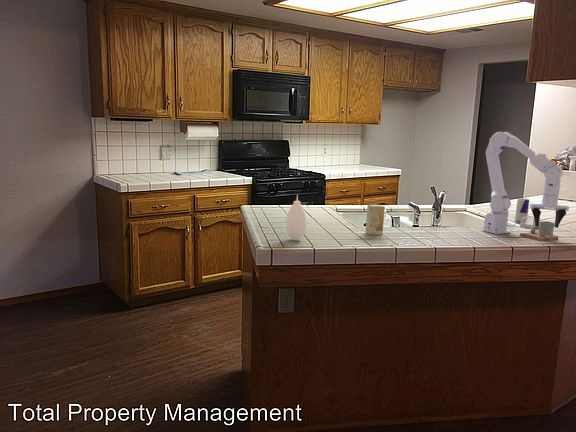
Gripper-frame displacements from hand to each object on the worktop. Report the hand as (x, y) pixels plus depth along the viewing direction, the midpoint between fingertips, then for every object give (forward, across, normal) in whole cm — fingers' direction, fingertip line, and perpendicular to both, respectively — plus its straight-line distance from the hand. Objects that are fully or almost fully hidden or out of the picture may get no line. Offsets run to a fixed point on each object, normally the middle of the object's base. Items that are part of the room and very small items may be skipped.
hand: (546, 226), depth 199 cm
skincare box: (+6, +71, +12) cm, 72 cm away
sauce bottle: (+6, +101, +34) cm, 107 cm away
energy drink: (+6, -1, -37) cm, 37 cm away
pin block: (+5, +2, -2) cm, 6 cm away
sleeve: (+4, 0, 0) cm, 4 cm away
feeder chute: (+5, -2, -26) cm, 27 cm away
